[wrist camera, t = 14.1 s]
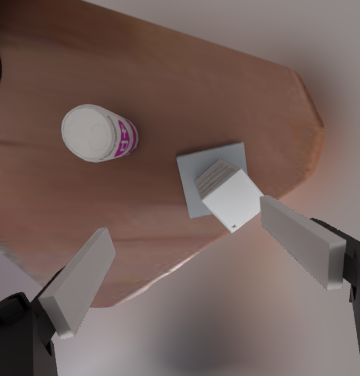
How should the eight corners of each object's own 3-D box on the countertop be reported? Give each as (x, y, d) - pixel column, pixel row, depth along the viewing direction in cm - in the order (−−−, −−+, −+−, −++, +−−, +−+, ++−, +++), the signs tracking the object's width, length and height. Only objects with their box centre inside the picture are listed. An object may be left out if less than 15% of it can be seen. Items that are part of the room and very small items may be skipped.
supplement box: (241, 182, 37) (272, 205, 24) (214, 204, 38) (231, 235, 26) (219, 157, 35) (242, 167, 23) (192, 180, 36) (200, 201, 24)
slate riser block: (176, 156, 40) (176, 157, 35) (235, 142, 39) (243, 142, 35) (188, 210, 44) (190, 218, 39) (243, 198, 43) (251, 205, 38)
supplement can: (143, 125, 38) (122, 114, 23) (133, 160, 40) (108, 171, 25) (107, 111, 37) (62, 91, 22) (99, 148, 39) (52, 152, 24)
